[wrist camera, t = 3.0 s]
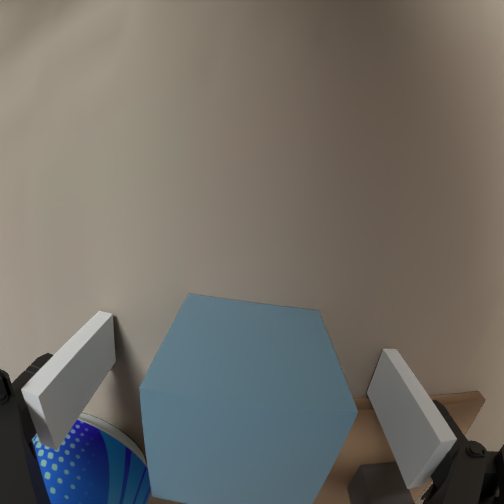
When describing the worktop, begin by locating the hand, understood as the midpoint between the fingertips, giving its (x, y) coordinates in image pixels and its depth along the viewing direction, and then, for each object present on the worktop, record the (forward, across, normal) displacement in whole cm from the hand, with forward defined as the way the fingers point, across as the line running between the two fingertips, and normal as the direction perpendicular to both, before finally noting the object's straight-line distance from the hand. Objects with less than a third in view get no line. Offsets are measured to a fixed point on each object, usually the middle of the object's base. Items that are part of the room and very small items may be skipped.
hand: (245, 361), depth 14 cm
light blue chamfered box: (0, 0, 0) cm, 0 cm away
